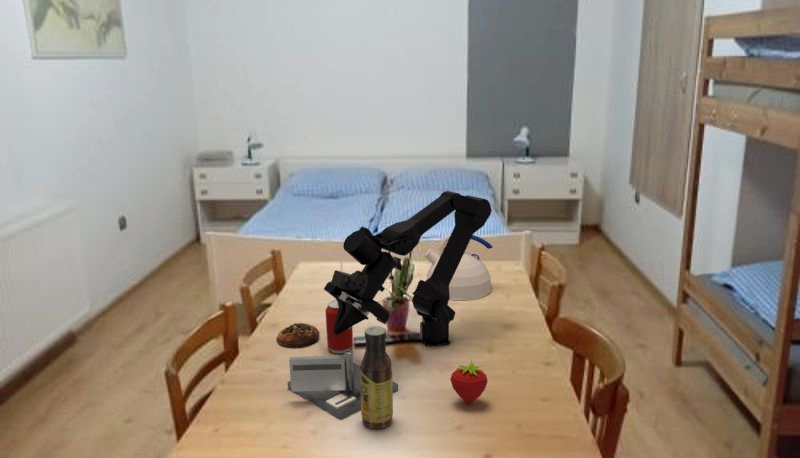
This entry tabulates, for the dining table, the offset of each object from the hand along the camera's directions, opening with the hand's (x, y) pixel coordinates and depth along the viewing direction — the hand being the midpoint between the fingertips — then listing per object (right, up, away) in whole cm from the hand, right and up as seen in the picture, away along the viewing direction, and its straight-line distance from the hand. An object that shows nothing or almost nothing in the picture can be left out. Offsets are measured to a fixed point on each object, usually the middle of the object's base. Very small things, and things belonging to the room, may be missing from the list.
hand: (334, 333), depth 142 cm
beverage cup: (-2, 0, +43) cm, 43 cm away
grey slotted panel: (-2, -10, -8) cm, 13 cm away
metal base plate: (+2, -12, -2) cm, 12 cm away
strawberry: (+29, -13, -9) cm, 33 cm away
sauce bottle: (+10, -15, -15) cm, 24 cm away
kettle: (+32, +4, +56) cm, 65 cm away
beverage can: (0, -7, +17) cm, 18 cm away
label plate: (+2, -12, -10) cm, 16 cm away
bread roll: (-12, -5, +23) cm, 26 cm away
